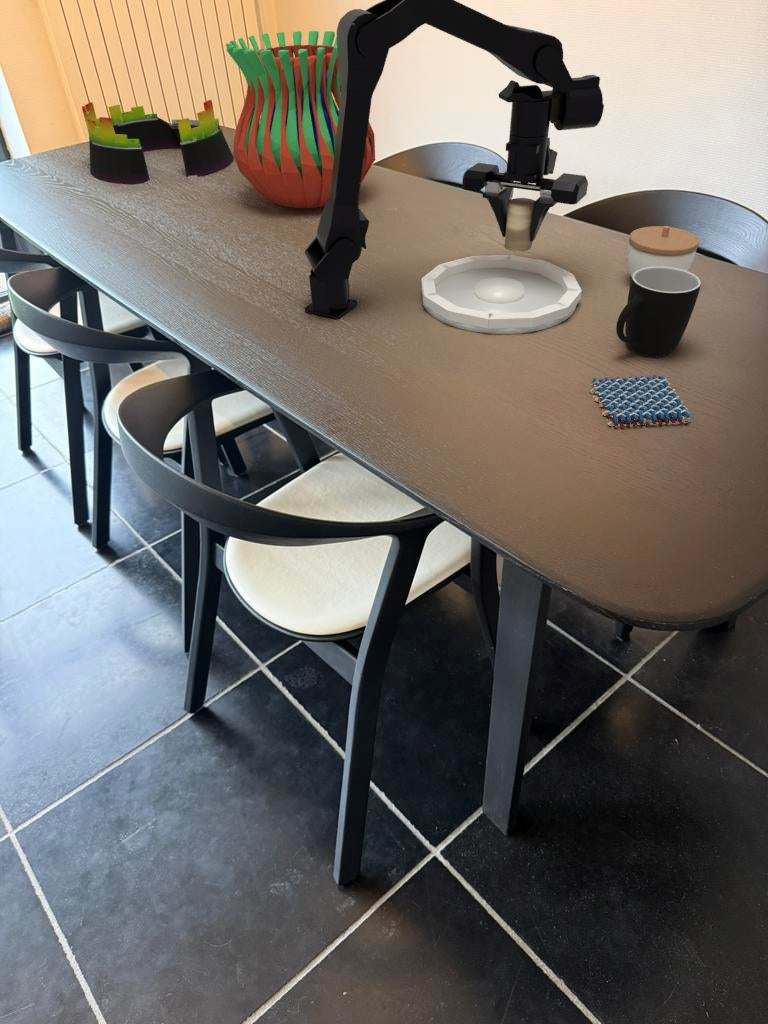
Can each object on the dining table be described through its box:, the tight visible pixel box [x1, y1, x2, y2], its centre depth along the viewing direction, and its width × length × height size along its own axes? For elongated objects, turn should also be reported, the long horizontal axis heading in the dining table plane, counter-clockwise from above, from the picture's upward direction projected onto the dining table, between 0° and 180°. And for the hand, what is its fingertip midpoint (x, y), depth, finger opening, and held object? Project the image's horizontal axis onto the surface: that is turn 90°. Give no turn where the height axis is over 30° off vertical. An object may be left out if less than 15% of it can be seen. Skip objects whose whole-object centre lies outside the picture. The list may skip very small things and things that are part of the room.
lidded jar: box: [626, 225, 700, 278], centre depth 116 cm, size 11×11×9 cm
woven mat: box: [587, 374, 691, 429], centre depth 90 cm, size 10×11×2 cm
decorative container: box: [81, 99, 235, 186], centre depth 180 cm, size 37×37×15 cm
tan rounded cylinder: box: [504, 197, 536, 252], centre depth 114 cm, size 4×4×7 cm
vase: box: [225, 30, 376, 209], centre depth 149 cm, size 30×30×30 cm
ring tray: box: [420, 254, 583, 335], centre depth 115 cm, size 25×25×2 cm
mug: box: [615, 266, 702, 358], centre depth 98 cm, size 12×9×10 cm
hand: (518, 238), depth 116 cm, fingers closed on tan rounded cylinder, 4 cm apart
